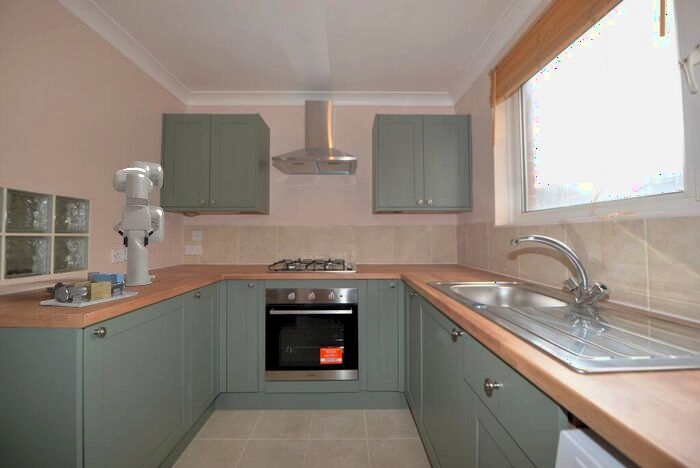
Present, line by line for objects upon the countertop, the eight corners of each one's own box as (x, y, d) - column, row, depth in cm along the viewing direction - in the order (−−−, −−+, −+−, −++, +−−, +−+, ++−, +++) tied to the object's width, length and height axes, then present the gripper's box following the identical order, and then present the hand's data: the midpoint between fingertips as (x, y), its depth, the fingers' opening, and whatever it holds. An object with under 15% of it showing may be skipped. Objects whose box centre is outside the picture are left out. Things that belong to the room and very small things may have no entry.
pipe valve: (103, 293, 135) (104, 276, 136) (137, 294, 132) (138, 277, 132) (40, 304, 112) (40, 284, 112) (79, 307, 109) (80, 286, 109)
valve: (104, 296, 138) (63, 297, 124) (73, 294, 148) (32, 295, 135) (106, 282, 139) (65, 282, 125) (75, 281, 149) (35, 281, 136)
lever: (85, 281, 121) (85, 272, 121) (94, 280, 124) (94, 271, 124) (116, 282, 118) (116, 273, 118) (124, 281, 121) (124, 272, 122)
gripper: (160, 205, 133) (160, 246, 132) (111, 202, 123) (110, 247, 123) (161, 204, 126) (160, 247, 126) (109, 201, 117) (108, 247, 116)
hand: (136, 246), depth 124 cm, fingers open, 5 cm apart
